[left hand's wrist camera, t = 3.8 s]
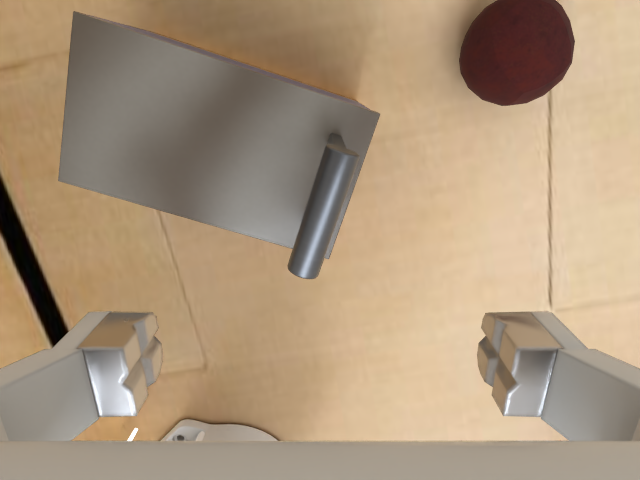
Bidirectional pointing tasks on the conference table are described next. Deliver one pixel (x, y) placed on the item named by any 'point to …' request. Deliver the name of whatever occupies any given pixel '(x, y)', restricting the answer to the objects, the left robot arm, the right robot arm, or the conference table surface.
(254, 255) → the conference table surface
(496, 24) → the dark red ball
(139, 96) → the lid
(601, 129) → the conference table surface
